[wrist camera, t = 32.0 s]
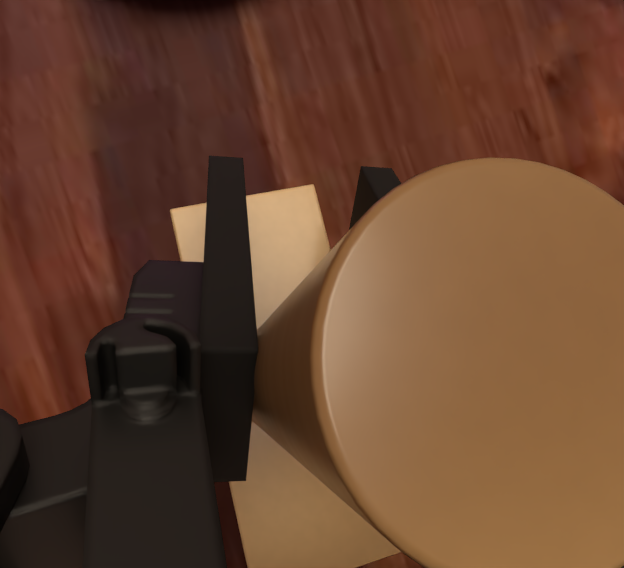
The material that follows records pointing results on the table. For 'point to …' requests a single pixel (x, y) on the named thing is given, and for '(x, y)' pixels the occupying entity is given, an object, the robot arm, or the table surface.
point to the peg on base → (436, 373)
